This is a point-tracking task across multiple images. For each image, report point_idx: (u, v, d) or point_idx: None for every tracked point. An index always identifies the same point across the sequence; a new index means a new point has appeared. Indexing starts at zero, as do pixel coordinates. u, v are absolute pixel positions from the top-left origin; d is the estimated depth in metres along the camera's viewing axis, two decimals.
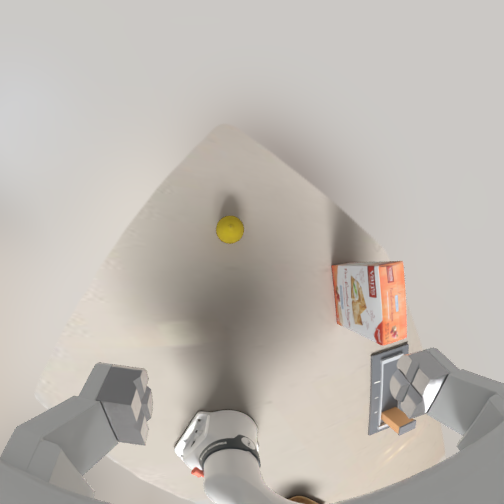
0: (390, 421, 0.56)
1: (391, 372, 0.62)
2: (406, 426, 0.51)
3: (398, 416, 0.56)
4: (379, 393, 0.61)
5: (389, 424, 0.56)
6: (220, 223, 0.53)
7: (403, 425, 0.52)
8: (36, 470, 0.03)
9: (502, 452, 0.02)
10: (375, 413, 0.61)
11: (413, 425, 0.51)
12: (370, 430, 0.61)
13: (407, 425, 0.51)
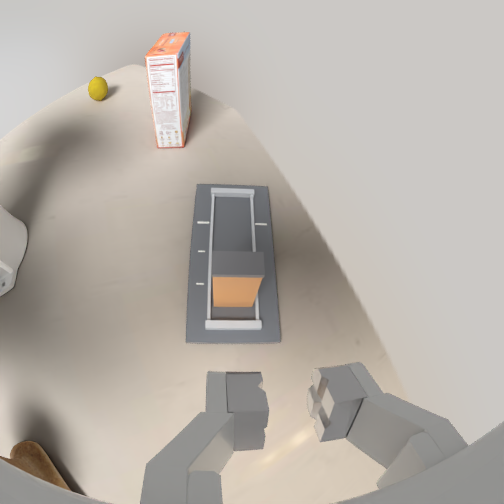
0: None
1: (233, 216, 0.43)
2: (232, 255, 0.28)
3: None
4: (207, 244, 0.40)
5: None
6: None
7: None
8: None
9: (502, 452, 0.02)
10: (199, 286, 0.37)
11: (257, 263, 0.28)
12: (188, 328, 0.34)
13: (235, 254, 0.28)
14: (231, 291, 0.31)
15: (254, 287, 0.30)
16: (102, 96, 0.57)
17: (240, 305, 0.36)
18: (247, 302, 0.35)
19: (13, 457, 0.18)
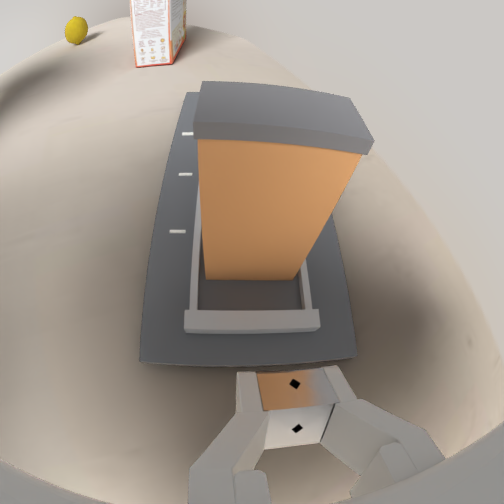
0: None
1: None
2: (263, 90, 0.08)
3: None
4: None
5: None
6: None
7: None
8: None
9: (502, 452, 0.02)
10: (175, 236, 0.17)
11: (342, 113, 0.08)
12: (146, 329, 0.14)
13: (273, 90, 0.08)
14: (254, 225, 0.11)
15: (321, 207, 0.10)
16: (80, 37, 0.37)
17: (268, 275, 0.15)
18: (286, 266, 0.15)
19: None
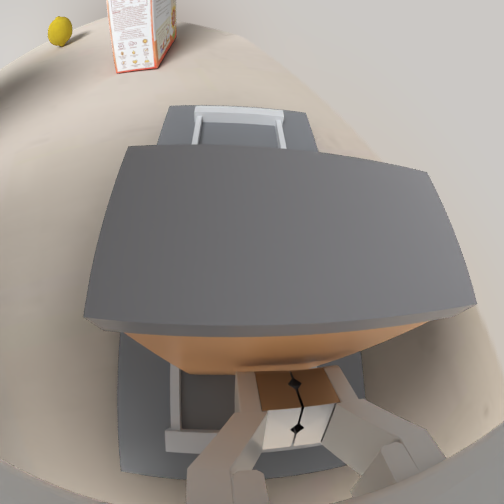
0: None
1: None
2: (262, 167, 0.04)
3: None
4: None
5: None
6: None
7: None
8: None
9: (502, 452, 0.02)
10: None
11: (426, 229, 0.04)
12: (124, 439, 0.10)
13: (283, 164, 0.04)
14: (247, 363, 0.07)
15: (351, 350, 0.06)
16: (64, 39, 0.32)
17: None
18: (291, 369, 0.10)
19: None
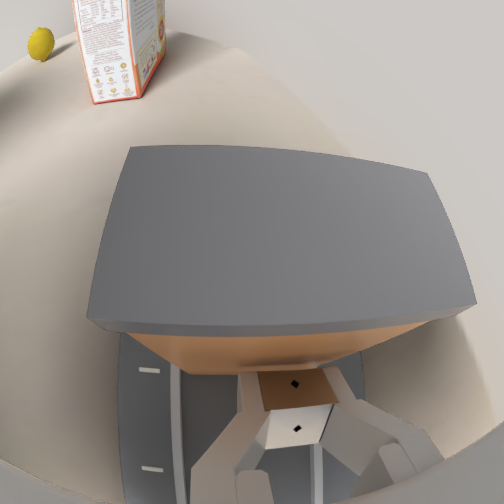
0: None
1: None
2: (264, 168, 0.04)
3: None
4: None
5: None
6: None
7: None
8: None
9: (502, 452, 0.02)
10: (151, 475, 0.09)
11: (427, 229, 0.04)
12: None
13: (285, 165, 0.04)
14: (247, 363, 0.07)
15: (352, 349, 0.06)
16: (45, 53, 0.28)
17: None
18: None
19: None
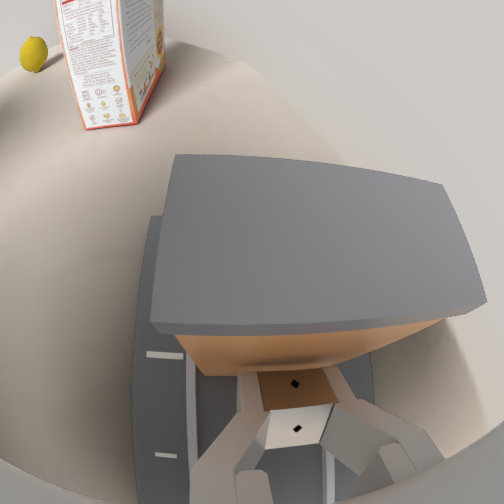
0: None
1: None
2: (305, 180, 0.04)
3: None
4: (183, 435, 0.10)
5: None
6: None
7: None
8: None
9: (502, 452, 0.02)
10: None
11: (444, 237, 0.04)
12: None
13: (323, 177, 0.04)
14: (271, 362, 0.07)
15: (371, 347, 0.06)
16: (38, 64, 0.27)
17: None
18: None
19: None
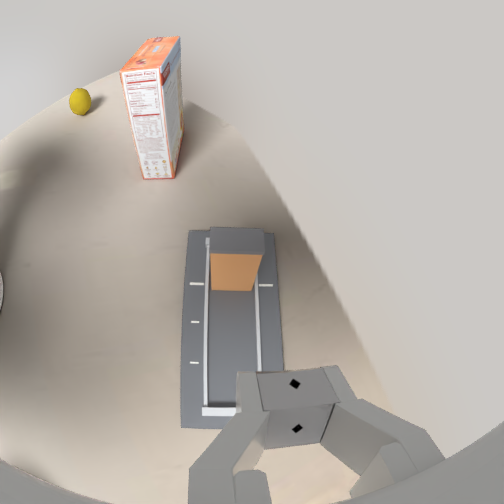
0: None
1: None
2: (230, 231, 0.27)
3: None
4: (202, 313, 0.33)
5: None
6: None
7: None
8: None
9: (502, 452, 0.02)
10: (193, 365, 0.30)
11: (256, 240, 0.27)
12: (183, 413, 0.27)
13: (234, 230, 0.27)
14: (230, 272, 0.30)
15: (254, 267, 0.29)
16: (85, 110, 0.50)
17: (239, 288, 0.34)
18: (246, 285, 0.34)
19: None
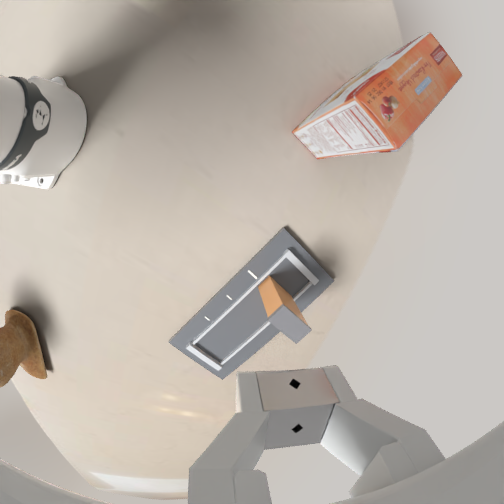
0: (272, 291, 0.37)
1: None
2: (292, 318, 0.32)
3: (288, 300, 0.37)
4: (238, 296, 0.42)
5: (265, 297, 0.37)
6: None
7: (290, 310, 0.32)
8: None
9: (502, 452, 0.02)
10: (205, 319, 0.42)
11: (300, 334, 0.33)
12: (176, 337, 0.43)
13: (295, 318, 0.32)
14: None
15: None
16: None
17: None
18: None
19: (9, 319, 0.37)
